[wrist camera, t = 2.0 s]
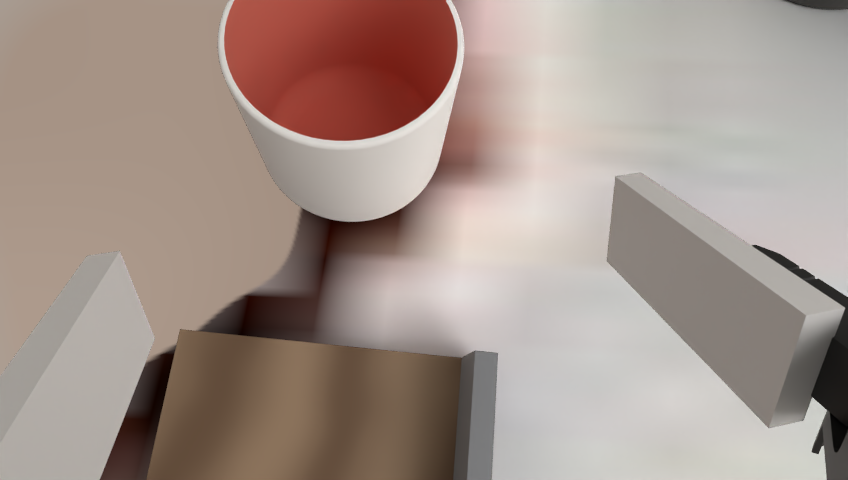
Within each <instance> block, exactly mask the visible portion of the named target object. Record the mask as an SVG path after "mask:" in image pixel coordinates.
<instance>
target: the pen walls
mask: <svg viewBox="0 0 848 480" xmlns="http://www.w3.org/2000/svg"><path fill="white" fill-rule="evenodd" d="M497 361H498V353H494V352H484V351H474V352H472V353H470V354H468V355H466V356H464V357H463V358H462V361H461V375H460V389H459V403H458V418H457V432H456V446H455V460H454V474H453V480H491V479H492V459H493V440H494V420H495V401H496V381H497Z"/></svg>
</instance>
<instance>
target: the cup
mask: <svg viewBox="0 0 848 480" xmlns="http://www.w3.org/2000/svg"><path fill="white" fill-rule="evenodd" d="M218 57H219V63H220V66H221V70H222V74H223V76H224V78H225V81H226V83H227V85H228V87H229V90H230V92H231V94H232V96H233V98H234V100H235V102H236V104H237V106H238V109H239V111H240V113H241V115H242V117H243V119H244V121H245V123H246V125H247V127H248V129H249V132H250V134H251V136H252V138H253V140H254V142H255V144H256V146H257V148H258V150H259V153H260V155H261V157H262V159H263V161H264V163H265V165H266V167H267V169H268V172H269V173H270V175H271V177H272V179H273V180H274V182H275V183H276V184H277V186H278V187H279V188H280V190H281V191H282V192H283V193H284V194H285V195H286V196H287V197H288V198H289V199H291V200H292V201H293V202H294V203H296V204H297V205H299V206H300V207H302V208H303V209H305V210H307V211H309V212H311V213H313V214H315V215H318V216H321V217H324V218H327V219H331V220H337V221H346V222H359V221H367V220H373V219H377V218H381V217H384V216H386V215H389V214H391V213H393V212H396V211H397V210H399V209H401V208H403V207H404V206H406V205H407V204H408V203H410V202H411V201H412V200H413V199H415V198H416V197H417V196H418V195H419V194H420V193H421V192H422V190H423V189H424V188H425V187H426V185H427V184H428V182H429V181H430V179H431V178H432V176H433V174H434V172H435V170H436V167H437V164H438V162H439V158H440V154H441V150H442V146H443V142H444V138H445V134H446V130H447V126H448V122H449V118H450V114H451V110H452V106H453V102H454V98H455V94H456V90H457V86H458V82H459V78H460V74H461V70H462V65H463V59H464V36H463V30H462V26H461V22H460V18H459V16H458V13H457V11H456V8H455V6H454V5H453V3H452V1H451V0H229V1H228V2H227V5H226V7H225V9H224V11H223V14H222V18H221V21H220V25H219V31H218Z"/></svg>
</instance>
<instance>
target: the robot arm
mask: <svg viewBox="0 0 848 480" xmlns="http://www.w3.org/2000/svg"><path fill="white" fill-rule="evenodd" d="M789 1H791V2H794V3H797V4H801V5H805V6H809V7H814V8H821V9H848V0H789ZM607 262H608V263H609V264H610V265H611V266H612V267H613V268H614V269H615V270H616V271H617V272H618V273H619V274H620V275H621V276H622V277H623V278H624V279H625V280H626V281H627V282H628V283H629V284H630V285H631V287H632V288H633V289H634V290H635V291H636V292H637V293H638V294H639V295H640V296H641V297H642V298H643V299H644V300H645V301H646V302H647V303H648V304H649V305H650V306H651V307H652V308H653V309H654V310H655V311H656V312H657V313H658V314H659V315H660V316H661V317H662V318H663V320H664V321H665V322H666V323H667V324H668V325H669V326H670V327H671V328H672V329H673V330H674V331H675V332H676V333H677V334H678V335H679V336H680V337H681V338H682V339H683V340H684V341H685V342H686V343H687V344H688V345H689V346H690V347H691V348H692V349H693V350H694V351H695V352H696V354H697V355H698V356H699V357H700V358H701V359H702V360H703V361H704V362H705V363H706V364H707V365H708V366H709V367H710V368H711V369H712V370H713V371H714V372H715V373H716V374H717V375H718V376H719V377H720V378H721V379H722V380H723V381H724V382H725V383H726V384H727V385H728V387H729V388H730V389H731V390H732V391H733V392H734V393H735V394H736V395H737V396H738V397H739V398H740V399H741V400H742V401H743V402H744V403H745V404H746V405H747V406H748V407H749V408H750V409H751V410H752V411H753V412H754V413H755V414H756V415H757V416H758V417H759V418H760V420H761V421H762V422H763V423H764V424H765V425H766V426H767V427H768V428H772V427H776V426H781V425H785V424H790V423H794V422H799V421H803V420H804V418H805V415H806V412H807V409H808V407H809V404H810V401H811V399H812V397H813V398H814V399H815V400H816V401H817V402H819V403H820V404H821V405H822V406H823V407H824V408H825V409H827V412H826V415H825V417H824V420H823V422H822V425H821V427H820V430H819V432H818V435H817V437H816V440H815V442H814V445H813V449H812V452H813V453H816V454H819V451H820V449H821V446H824V450H825V462H826V474H827V480H848V297H846V296H845V295H843V294H842V293H840V292H839V291H837V290H835V289H834V288H832V287H831V286H829V285H828V284H826V283H824V282H823V281H821V280H820V279H815V276H814V275H812V274H810V273H809V272H807V271H806V270H804V269H799V266H798V265H796V264H795V263H793V262H792V261H790V260H788V259H787V258H785V257H784V256H782V255H781V254H778V253H776V252H773V251H771V250H768V249H765V248H763V247H760V246H757V245H752V246H751V245H750V244H748V243H747V242H745V241H744V240H742V239H741V238H739V237H738V236H736V235H734V234H733V233H731V232H730V231H728V230H727V229H725V228H724V227H722V226H721V225H719V224H718V223H716V222H715V221H713V220H712V219H710V218H709V217H707V216H706V215H704V214H703V213H701V212H700V211H698V210H697V209H695V208H694V207H692V206H691V205H689V204H688V203H686V202H685V201H683V200H682V199H680V198H679V197H677V196H676V195H674V194H673V193H671V192H669V191H668V190H666V189H665V188H663V187H662V186H660V185H659V184H657V183H656V182H654V181H653V180H651V179H650V178H648V177H647V176H645V175H644V174H642V173H635V174H628V175H621V176H615V185H614V195H613V205H612V214H611V224H610V233H609V243H608V253H607ZM154 340H155V337H154V335H153V332H152V330H151V327H150V325H149V322H148V320H147V317H146V315H145V312H144V310H143V307H142V305H141V303H140V300H139V297H138V295H137V292H136V290H135V287H134V286H133V282H132V280H131V277H130V275H129V272H128V270H127V267H126V265H125V262H124V260H123V258H122V255H121V253H120V251H116V252H109V253H102V254H95V255H89V256H86V258H85V259H84V261H83V262H82V264H81V265H80V266H79V268H78V269H77V270H76V272H75V273H74V274H73V276H72V277H71V279H70V280H69V282H68V283H67V284H66V286H65V287H64V289H63V290H62V291H61V293H60V294H59V295H58V297H57V298H56V299H55V301H54V302H53V304H52V305H51V306H50V308H49V309H48V311H47V312H46V313H45V315H44V316H43V318H42V319H41V320H40V322H39V323H38V324H37V326H36V327H35V329H34V330H33V331H32V333H31V334H30V336H29V337H28V338H27V340H26V341H25V343H24V344H23V345H22V347H21V348H20V349H19V351H18V352H17V354H16V355H15V356H14V358H13V359H12V361H11V362H10V363H9V365H8V366H7V367H6V369H5V370H4V372H3V373H2V374H1V376H0V480H100V478H101V475H102V473H103V470H104V467H105V465H106V462H107V460H108V457H109V455H110V452H111V450H112V447H113V444H114V442H115V439H116V437H117V434H118V432H119V429H120V427H121V424H122V421H123V419H124V416H125V414H126V411H127V409H128V406H129V404H130V401H131V398H132V396H133V393H134V391H135V388H136V386H137V383H138V380H139V378H140V375H141V373H142V370H143V368H144V365H145V363H146V360H147V357H148V355H149V352H150V350H151V347H152V344H153V342H154Z"/></svg>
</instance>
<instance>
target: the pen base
mask: <svg viewBox="0 0 848 480" xmlns="http://www.w3.org/2000/svg"><path fill="white" fill-rule="evenodd" d="M461 361H462V358H457V357H447V356H437V355H427V354H418V353H408V352H398V351H388V350H378V349H368V348H359V347H349V346H339V345H329V344H319V343H309V342H300V341H290V340H280V339H270V338H260V337H251V336H241V335H231V334H221V333H211V332H201V331H192V330H181V329H180V332H179V336H178V341H177V345H176V350H175V354H174V359H173V363H172V367H171V372H170V376H169V381H168V385H167V390H166V394H165V398H164V403H163V407H162V412H161V416H160V421H159V425H158V430H157V434H156V438H155V443H154V447H153V452H152V456H151V461H150V465H149V469H148V474H147V478H146V480H453V474H454V460H455V446H456V432H457V418H458V403H459V389H460V375H461Z"/></svg>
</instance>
